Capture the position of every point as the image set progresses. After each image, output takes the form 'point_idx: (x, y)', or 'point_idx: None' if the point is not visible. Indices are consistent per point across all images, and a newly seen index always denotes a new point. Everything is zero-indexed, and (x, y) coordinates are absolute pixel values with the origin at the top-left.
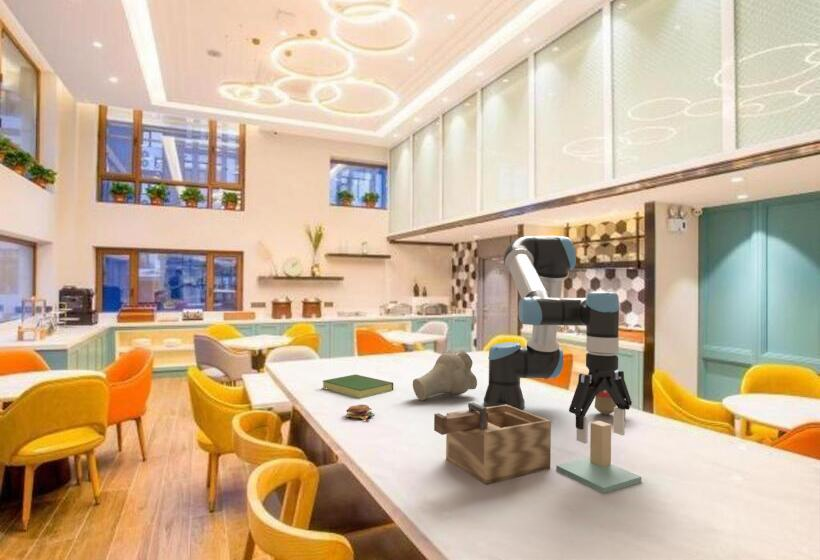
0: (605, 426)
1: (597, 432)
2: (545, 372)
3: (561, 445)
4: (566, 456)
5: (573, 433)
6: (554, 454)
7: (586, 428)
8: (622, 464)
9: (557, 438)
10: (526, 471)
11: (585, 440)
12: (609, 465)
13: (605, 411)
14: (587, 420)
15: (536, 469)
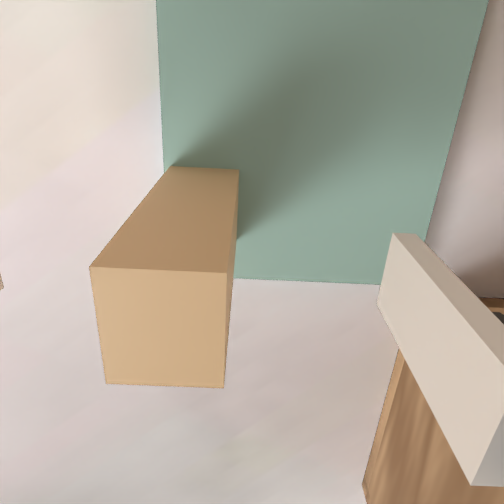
0: (182, 266)
1: (229, 284)
2: None
3: (157, 419)
4: (236, 344)
5: (8, 470)
6: (263, 376)
7: (463, 292)
8: (65, 169)
9: (114, 464)
10: None
11: (424, 243)
12: (187, 160)
13: None
14: (492, 345)
15: (499, 304)
